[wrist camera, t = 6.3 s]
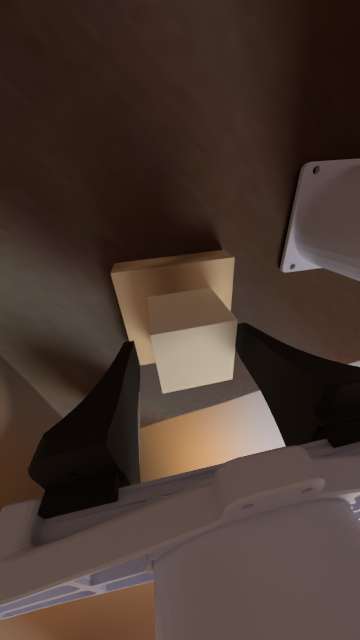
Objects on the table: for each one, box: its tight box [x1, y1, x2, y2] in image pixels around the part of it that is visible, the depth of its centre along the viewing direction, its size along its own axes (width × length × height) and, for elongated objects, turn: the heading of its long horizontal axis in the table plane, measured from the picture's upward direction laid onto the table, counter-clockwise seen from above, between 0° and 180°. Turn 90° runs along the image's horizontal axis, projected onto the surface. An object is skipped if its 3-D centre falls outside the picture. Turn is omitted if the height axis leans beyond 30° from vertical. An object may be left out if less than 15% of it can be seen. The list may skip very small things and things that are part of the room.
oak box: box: [110, 250, 235, 365], centre depth 17 cm, size 9×9×3 cm
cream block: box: [147, 287, 237, 393], centre depth 14 cm, size 5×5×5 cm
